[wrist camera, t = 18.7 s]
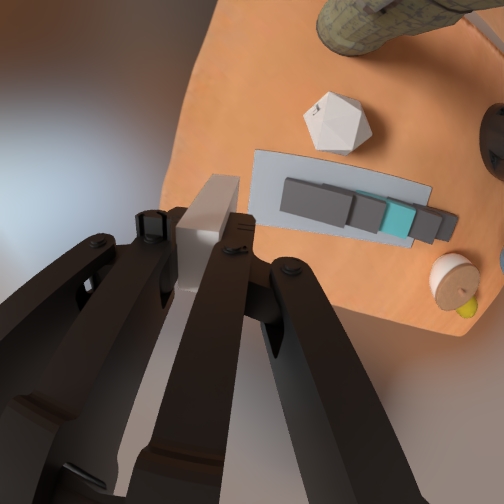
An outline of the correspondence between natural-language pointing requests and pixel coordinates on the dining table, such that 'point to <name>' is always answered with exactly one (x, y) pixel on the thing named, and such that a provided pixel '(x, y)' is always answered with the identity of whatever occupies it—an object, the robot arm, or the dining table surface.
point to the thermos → (387, 21)
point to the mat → (318, 172)
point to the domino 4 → (443, 223)
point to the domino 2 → (363, 211)
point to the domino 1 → (315, 202)
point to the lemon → (468, 308)
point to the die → (337, 124)
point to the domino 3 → (423, 223)
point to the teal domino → (395, 217)
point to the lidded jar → (453, 281)
